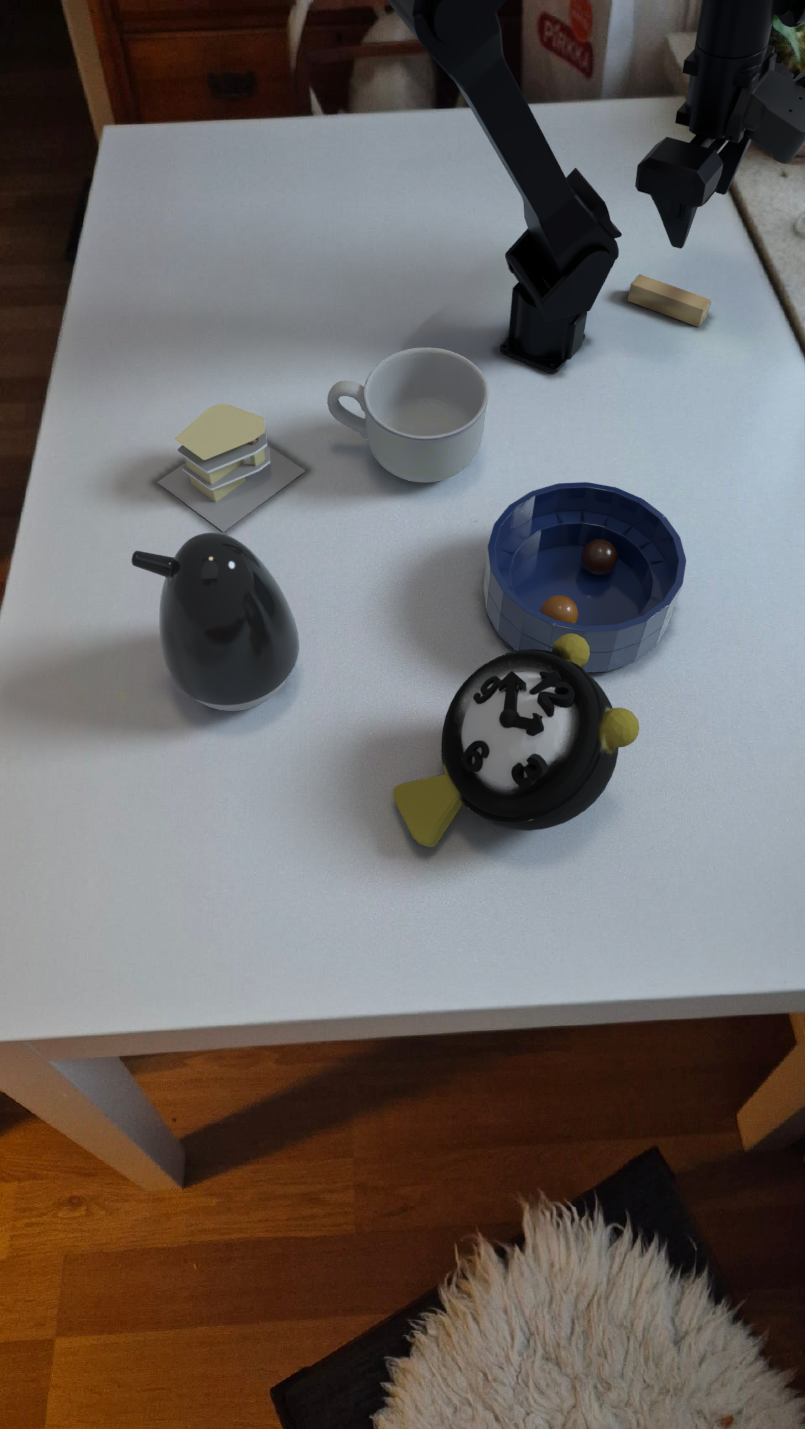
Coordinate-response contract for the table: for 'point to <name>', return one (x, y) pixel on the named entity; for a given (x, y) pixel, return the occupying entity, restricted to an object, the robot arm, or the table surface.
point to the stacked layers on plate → (228, 466)
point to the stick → (669, 300)
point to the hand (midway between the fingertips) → (699, 219)
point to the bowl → (583, 572)
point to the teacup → (418, 412)
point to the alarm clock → (522, 745)
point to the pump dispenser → (223, 622)
